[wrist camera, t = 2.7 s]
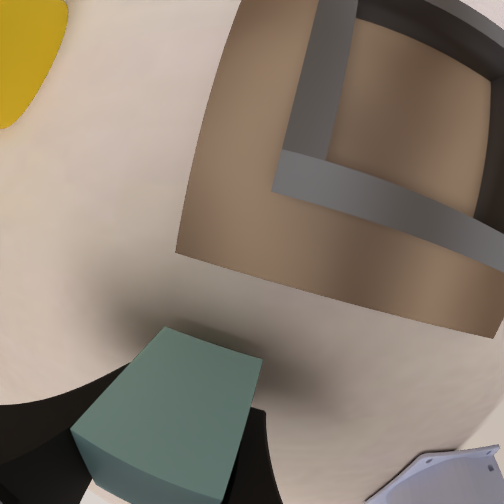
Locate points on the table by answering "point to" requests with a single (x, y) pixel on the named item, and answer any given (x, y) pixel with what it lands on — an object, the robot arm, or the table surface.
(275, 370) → the table surface
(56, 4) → the tape roll
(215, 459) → the peg
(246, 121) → the socket board
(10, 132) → the table surface
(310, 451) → the table surface
